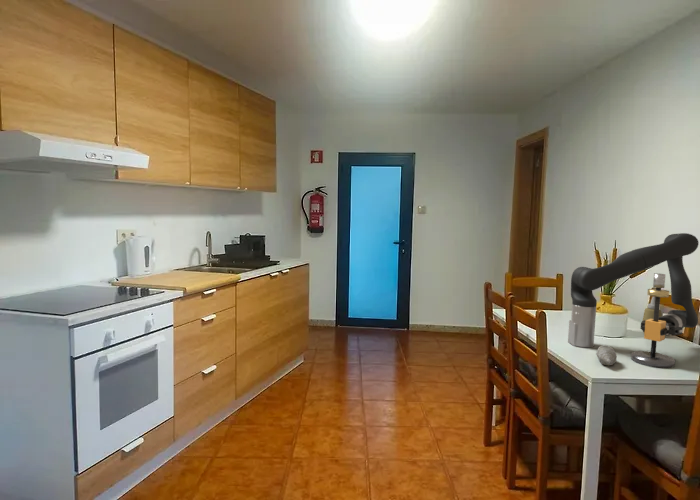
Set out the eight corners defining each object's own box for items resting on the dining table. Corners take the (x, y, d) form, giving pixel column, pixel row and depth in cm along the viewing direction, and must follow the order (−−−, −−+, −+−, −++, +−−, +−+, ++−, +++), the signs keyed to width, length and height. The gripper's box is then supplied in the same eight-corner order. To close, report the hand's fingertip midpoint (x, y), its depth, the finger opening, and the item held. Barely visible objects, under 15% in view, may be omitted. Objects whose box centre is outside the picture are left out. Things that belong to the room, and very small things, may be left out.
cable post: (666, 370, 167) (675, 278, 164) (625, 360, 178) (631, 273, 175) (680, 363, 176) (688, 275, 172) (639, 353, 187) (646, 270, 183)
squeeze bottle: (655, 338, 210) (658, 299, 208) (637, 333, 217) (640, 295, 215) (665, 336, 213) (668, 297, 212) (647, 331, 221) (650, 294, 219)
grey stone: (598, 360, 168) (603, 339, 170) (592, 363, 180) (597, 344, 182) (617, 367, 166) (622, 345, 167) (610, 369, 178) (615, 349, 179)
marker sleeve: (659, 341, 172) (661, 323, 172) (644, 338, 176) (645, 320, 176) (664, 339, 176) (666, 321, 175) (649, 336, 180) (650, 318, 179)
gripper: (649, 311, 190) (632, 317, 179) (690, 318, 178) (675, 325, 168) (647, 329, 190) (630, 336, 180) (689, 337, 179) (673, 345, 169)
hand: (652, 330), depth 174 cm, fingers closed on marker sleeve, 5 cm apart
